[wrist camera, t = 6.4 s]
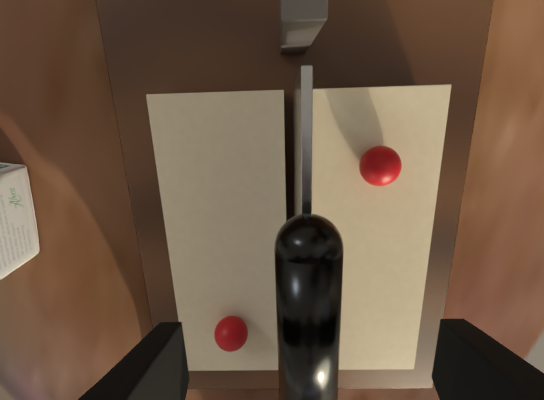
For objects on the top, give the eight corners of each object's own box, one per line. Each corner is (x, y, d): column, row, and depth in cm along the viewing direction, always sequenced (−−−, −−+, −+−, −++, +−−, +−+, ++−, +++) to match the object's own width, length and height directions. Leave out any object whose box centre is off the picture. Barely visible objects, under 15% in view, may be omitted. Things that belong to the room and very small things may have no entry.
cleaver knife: (316, 383, 17) (336, 541, 11) (281, 383, 17) (282, 541, 11) (320, 74, 12) (360, 56, 6) (273, 75, 12) (266, 60, 6)
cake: (393, 326, 20) (426, 395, 16) (199, 328, 20) (177, 395, 16) (417, 85, 16) (474, 83, 11) (171, 94, 16) (129, 94, 12)
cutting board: (426, 376, 22) (508, 534, 14) (168, 377, 23) (108, 531, 15) (486, -31, 15) (726, -175, 7) (102, -14, 16) (-87, -129, 8)
